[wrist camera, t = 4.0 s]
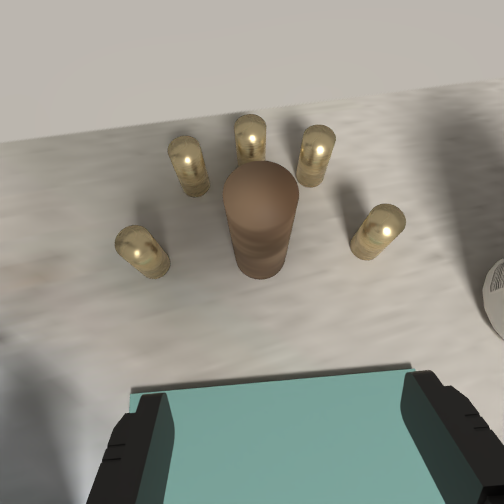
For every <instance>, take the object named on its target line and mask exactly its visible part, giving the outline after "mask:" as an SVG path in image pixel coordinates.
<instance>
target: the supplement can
mask: <svg viewBox="0 0 504 504" xmlns="http://www.w3.org/2000/svg"><path fill="white" fill-rule="evenodd" d="M482 291H483V301H484V309H485V311H486V313H487V316H488V318H489V320H490V322H491V324H492V326H493V328H494V329H495V331H496V332H497V333H498V334H499V335H500V336H501V337H502V339H503V340H504V258H503V259H501V260H499V261H498V262H497V263H496V264H495V265H494V266H493V267H492V268H491V269H490V271H489V272H488V273H487V275H486V279H485V282H484V286H483V289H482Z"/></svg>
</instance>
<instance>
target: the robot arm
mask: <svg viewBox="0 0 504 504" xmlns="http://www.w3.org/2000/svg"><path fill="white" fill-rule="evenodd" d="M400 410H401V415H402V418H403V421H404V424H405V426H406V428H407V430H408V432H409V434H410V435H411V437H412V439H413V441H414V443H415V445H416V447H417V449H418V451H419V453H420V455H421V457H422V459H423V461H424V463H425V465H426V467H427V469H428V471H429V473H430V475H431V476H432V478H433V480H434V482H435V484H436V486H437V488H438V490H439V492H440V494H441V496H442V498H443V500H444V502H445V504H504V445H503V444H502V443H501V441H500V440H499V439H498V437H497V436H496V435H495V433H494V432H493V431H492V430H490V428H489V426H488V424H487V423H486V422H485V420H484V419H483V418H482V417H480V415H479V412H478V411H477V410H476V408H475V407H474V406H473V405H472V403H471V402H470V401H469V399H468V398H467V397H465V396H464V395H463V394H462V393H460V392H459V391H458V390H456V389H455V388H454V387H452V386H443V385H442V383H441V382H440V380H439V379H438V378H437V376H436V375H435V373H434V372H432V371H431V370H425V371H414V372H407V373H406V374H405V378H404V384H403V390H402V396H401V402H400ZM174 439H175V427H174V421H173V417H172V413H171V409H170V405H169V401H168V397H167V394H166V393H165V392H164V393H152V394H143V395H142V396H141V398H140V400H139V403H138V406H137V409H136V412H135V413H125V414H124V416H123V417H122V418H121V420H120V421H119V422H118V423H117V425H116V426H115V427H114V429H113V431H112V434H111V437H110V440H109V442H108V445H107V446H108V447H107V449H106V450H105V453H104V456H103V459H102V463H101V464H100V467H99V470H98V472H97V475H96V478H95V480H94V483H93V486H92V489H91V491H90V494H89V497H88V499H87V502H86V504H163V502H164V497H165V491H166V485H167V480H168V474H169V469H170V463H171V457H172V452H173V446H174Z"/></svg>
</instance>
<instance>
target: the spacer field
mask: <svg viewBox="0 0 504 504" xmlns="http://www.w3.org/2000/svg"><path fill="white" fill-rule="evenodd" d="M234 131H235V141H236V150H237V160H238V167H239V166H241V165H243V164H246V163H248V162H252V161H265V150H266V124H265V121H264V120H263V119H262V118H261V117H259V116H257V115H254V114H247V115H244V116H241V117H240V118H239V119H237V121H236V122H235V125H234ZM335 141H336V136H335V134H334V132H333V131H332V130H331V129H330V128H329V127H327V126H324V125H313V126H310V127H309V128H307V129H306V130H305V132H304V134H303V139H302V145H301V150H300V155H299V161H298V166H297V172H296V178H297V180H298V182H299V183H300V184H301V185H303V186H305V187H315V186H318V185H319V184H320V183H321V182H322V180H323V178H324V175H325V172H326V169H327V166H328V163H329V160H330V157H331V153H332V150H333V147H334V144H335ZM168 155H169V157H170V160H171V162H172V164H173V167H174V169H175V171H176V174H177V176H178V179H179V181H180V183H181V186H182V188H183V190H184V192H185V193H186V194H187V195H188V196H191V197H200V196H202V195H204V194H205V193H206V192H207V191H208V190H209V187H210V182H209V178H208V174H207V170H206V167H205V163H204V159H203V155H202V152H201V148H200V144H199V142H198V141H197V140H196V139H195V138H193V137H190V136H180V137H177V138H175V139H174V140H173V141H172V142H171V143H170V144H169V146H168ZM405 225H406V219H405V216H404V214H403V212H402V211H401V210H400V209H399V208H397V207H396V206H394V205H391V204H380V205H377V206H376V207H374V208H373V209H372V211H371V212H370V213H369V215H368V216H367V218H366V219H365V221H364V222H363V223H362V225H361V226H360V228H359V229H358V231H357V232H356V234H355V235H354V236H353V238H352V240H351V242H350V248H351V251H352V253H353V254H354V255H355V256H356V257H357V258H359V259H362V260H372V259H374V258H376V257H377V256H378V255H379V254H380V253H381V252H382V251H383V250H384V249H385V248H386V247H387V246H388V245H389V244H390V243H391V242H392V241H393V240H394V239H395V238H396V237H397V236H398V235H399V234H400V233H401V232H402V231H403V230H404V228H405ZM115 249H116V251H117V253H118V254H119V255H120V256H121V257H123V258H124V259H125V260H126V261H127V262H129V263H130V264H131V265H132V266H133V267H135V268H136V269H137V270H138V271H140V272H141V273H142V274H143V275H144V276H146V277H147V278H150V279H157V278H160V277H162V276H164V275H165V274H166V273H167V271H168V270H169V267H170V259H169V257H168V256H167V254H166V253H165V252H164V251H163V249H162V248H161V247H160V245H159V244H158V243H157V242H156V240H155V239H154V238H153V237H152V235H151V234H150V233H149V232H148V230H147V229H145V228H144V227H142V226H139V225H132V226H128V227H126V228H124V229H123V230H121V231H120V232H119V234H118V235H117V237H116V239H115Z"/></svg>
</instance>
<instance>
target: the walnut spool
mask: <svg viewBox="0 0 504 504" xmlns="http://www.w3.org/2000/svg"><path fill="white" fill-rule="evenodd" d="M298 199H299V189H298V185H297V182H296V180H295V178H294V177H293V176H292V174H291V173H290V172H289V171H288V170H287V169H285V168H284V167H282V166H281V165H279V164H276V163H273V162H269V161H252V162H248V163H246V164H243V165H241V166H239V167H238V168H236V169H235V170H234V171H233V172H232V173H231V174H230V175H229V177H228V178H227V180H226V182H225V184H224V187H223V202H224V206H225V211H226V216H227V220H228V225H229V230H230V234H231V239H232V244H233V248H234V253H235V258H236V262H237V265H238V267H239V268H240V270H241V271H242V272H243V273H244V274H245V275H247V276H249V277H251V278H254V279H267V278H270V277H272V276H274V275H276V274H277V273H278V272H279V271H280V270H281V268H282V267H283V265H284V262H285V257H286V253H287V248H288V244H289V239H290V235H291V230H292V226H293V222H294V217H295V213H296V208H297V204H298Z"/></svg>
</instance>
